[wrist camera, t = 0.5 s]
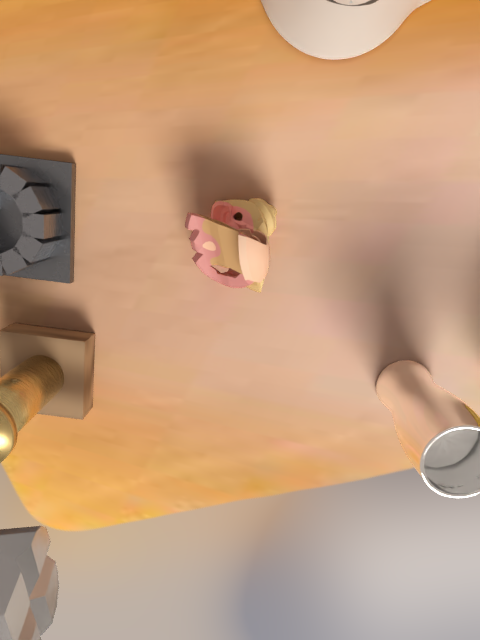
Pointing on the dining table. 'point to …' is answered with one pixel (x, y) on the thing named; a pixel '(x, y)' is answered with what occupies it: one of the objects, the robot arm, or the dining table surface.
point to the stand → (67, 350)
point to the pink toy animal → (234, 241)
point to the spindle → (26, 396)
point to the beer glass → (433, 429)
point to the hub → (37, 218)
